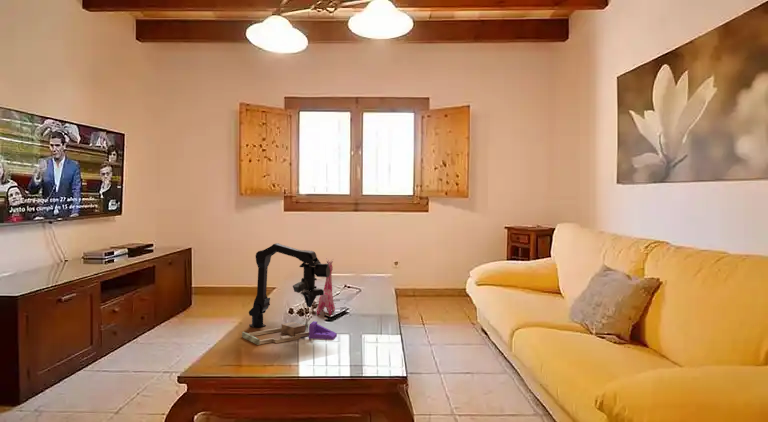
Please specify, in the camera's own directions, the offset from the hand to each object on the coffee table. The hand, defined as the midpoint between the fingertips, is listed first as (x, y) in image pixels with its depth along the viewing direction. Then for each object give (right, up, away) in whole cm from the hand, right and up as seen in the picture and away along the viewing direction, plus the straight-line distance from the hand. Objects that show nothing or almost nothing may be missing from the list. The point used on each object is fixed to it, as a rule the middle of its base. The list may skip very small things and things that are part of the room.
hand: (309, 306), depth 293 cm
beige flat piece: (-14, -12, -12) cm, 22 cm away
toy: (+5, -10, +42) cm, 43 cm away
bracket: (+8, -13, -11) cm, 19 cm away
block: (-7, -13, -5) cm, 15 cm away
